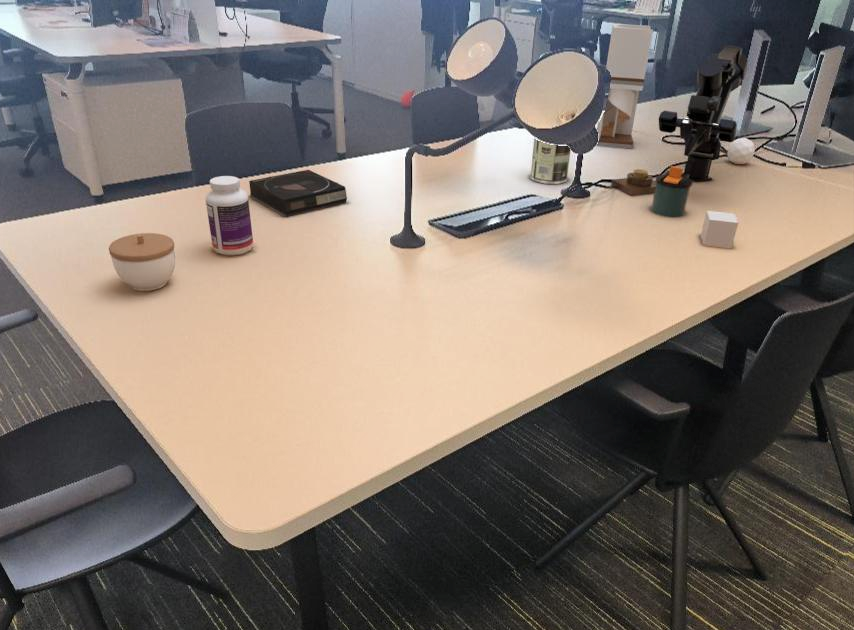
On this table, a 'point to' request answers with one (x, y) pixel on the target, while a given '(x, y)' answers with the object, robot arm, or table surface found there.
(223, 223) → the pill bottle
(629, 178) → the block
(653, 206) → the tumbler
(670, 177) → the slider
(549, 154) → the coffee can
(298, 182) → the portable cd player
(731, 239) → the white cube
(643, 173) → the call button
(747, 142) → the geometric ball
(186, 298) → the table surface
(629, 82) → the white pillar on base
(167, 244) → the trinket box
